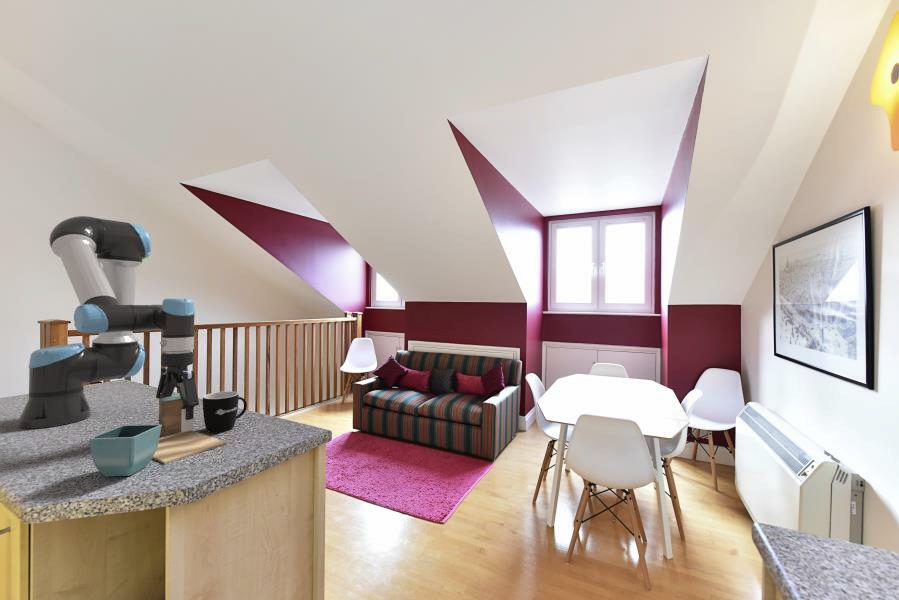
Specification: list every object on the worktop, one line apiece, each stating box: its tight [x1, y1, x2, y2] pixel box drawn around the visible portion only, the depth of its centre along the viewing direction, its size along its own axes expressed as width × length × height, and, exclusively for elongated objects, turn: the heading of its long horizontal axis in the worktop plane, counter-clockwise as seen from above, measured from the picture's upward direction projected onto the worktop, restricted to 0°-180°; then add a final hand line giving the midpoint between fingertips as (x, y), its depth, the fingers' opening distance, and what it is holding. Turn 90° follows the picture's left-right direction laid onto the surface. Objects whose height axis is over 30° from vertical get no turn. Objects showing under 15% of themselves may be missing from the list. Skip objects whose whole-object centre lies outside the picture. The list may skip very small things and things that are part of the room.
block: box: [158, 394, 183, 437], centre depth 105 cm, size 4×7×10 cm, turn 151°
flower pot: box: [89, 424, 162, 477], centre depth 80 cm, size 9×9×9 cm
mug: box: [202, 390, 248, 434], centre depth 108 cm, size 12×9×10 cm
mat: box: [151, 430, 228, 465], centre depth 94 cm, size 18×14×1 cm
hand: (176, 427), depth 105 cm, fingers open, 12 cm apart
